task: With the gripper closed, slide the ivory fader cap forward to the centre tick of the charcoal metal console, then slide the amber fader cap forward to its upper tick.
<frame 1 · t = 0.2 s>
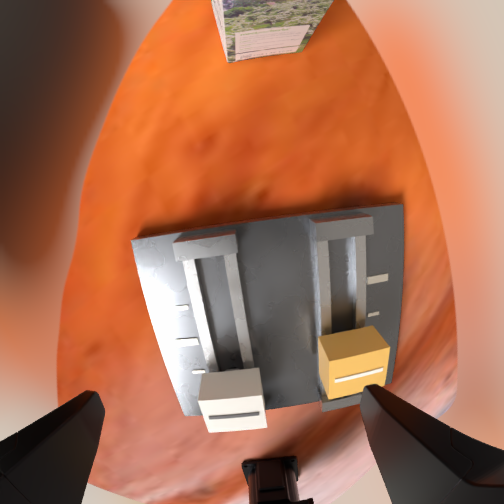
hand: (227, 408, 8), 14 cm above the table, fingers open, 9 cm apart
syrup box: (256, 30, 17), on the table
fader amber: (349, 357, 20), point 4 cm above the table, slide at -2.0 cm
console: (282, 322, 23), on the table
fader ivory: (234, 395, 21), point 4 cm above the table, slide at -4.0 cm
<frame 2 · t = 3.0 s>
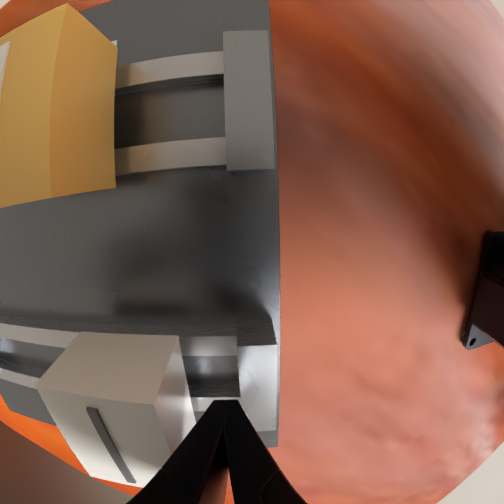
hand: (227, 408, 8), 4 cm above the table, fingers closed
fader amber: (46, 121, 6), point 4 cm above the table, slide at -2.0 cm
console: (68, 250, 11), on the table
fader ivory: (132, 403, 8), point 4 cm above the table, slide at -3.4 cm, touching gripper
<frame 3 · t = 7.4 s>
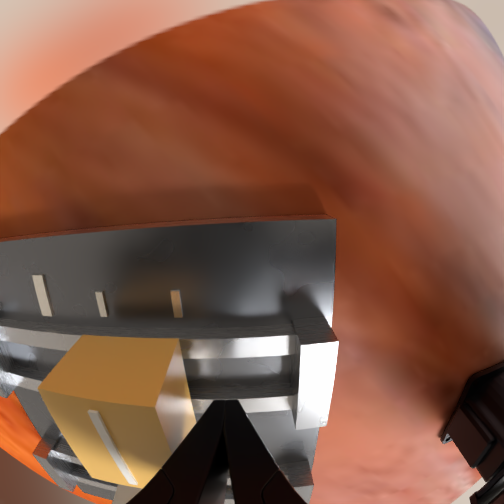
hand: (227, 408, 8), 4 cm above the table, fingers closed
fader amber: (134, 405, 8), point 4 cm above the table, slide at -1.4 cm, touching gripper
console: (149, 418, 13), on the table
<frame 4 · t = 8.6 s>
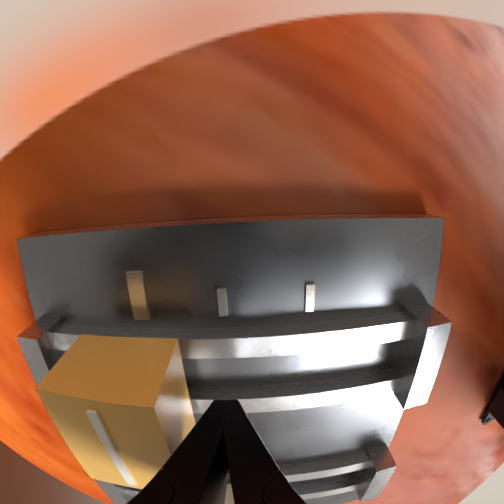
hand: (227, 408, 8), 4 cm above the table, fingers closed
fader amber: (132, 405, 8), point 4 cm above the table, slide at 3.2 cm, touching gripper
console: (236, 421, 13), on the table
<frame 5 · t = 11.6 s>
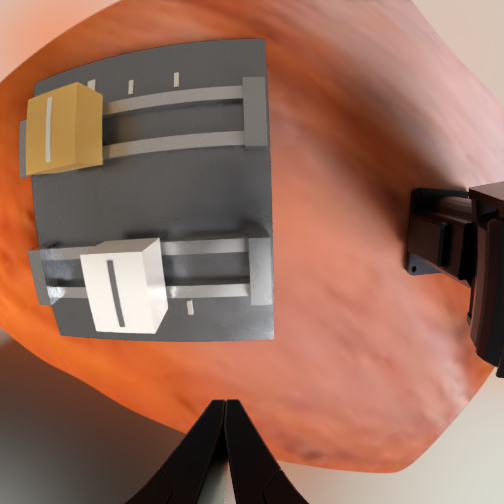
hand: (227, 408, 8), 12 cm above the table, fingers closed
fader amber: (69, 132, 14), point 4 cm above the table, slide at 3.2 cm
console: (139, 197, 18), on the table
fader ivory: (130, 280, 16), point 4 cm above the table, slide at -0.1 cm
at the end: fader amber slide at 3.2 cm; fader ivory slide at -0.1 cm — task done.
